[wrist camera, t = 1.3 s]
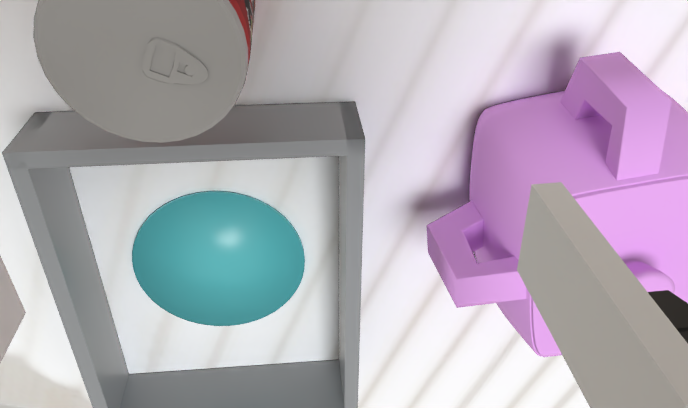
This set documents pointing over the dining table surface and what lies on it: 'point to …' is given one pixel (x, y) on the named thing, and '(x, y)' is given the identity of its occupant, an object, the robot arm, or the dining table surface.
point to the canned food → (146, 62)
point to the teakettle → (572, 187)
